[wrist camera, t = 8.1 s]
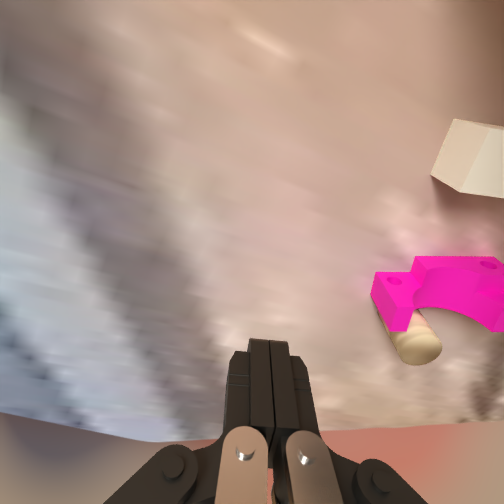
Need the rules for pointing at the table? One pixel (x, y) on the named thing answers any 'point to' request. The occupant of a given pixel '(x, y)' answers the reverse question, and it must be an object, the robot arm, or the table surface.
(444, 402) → the table surface
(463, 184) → the beige cube
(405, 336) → the birch cylinder
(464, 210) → the table surface
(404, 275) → the toy block
